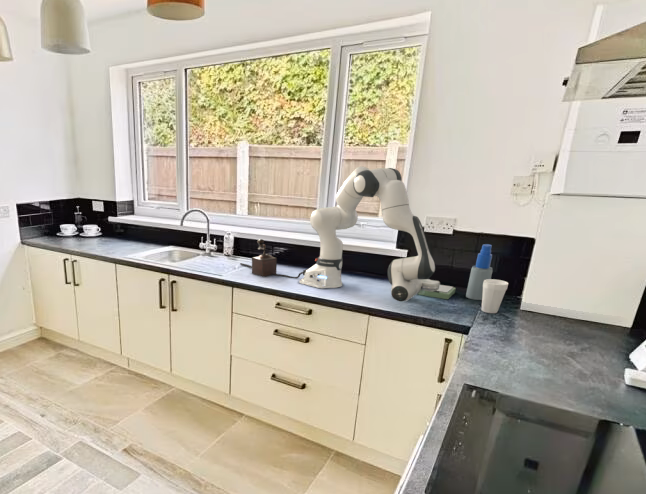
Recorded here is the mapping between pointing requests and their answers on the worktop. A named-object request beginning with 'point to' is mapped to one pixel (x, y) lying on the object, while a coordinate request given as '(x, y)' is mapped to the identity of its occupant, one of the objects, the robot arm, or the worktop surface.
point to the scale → (441, 292)
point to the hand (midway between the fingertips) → (420, 279)
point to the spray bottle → (480, 273)
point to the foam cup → (493, 294)
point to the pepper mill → (263, 262)
